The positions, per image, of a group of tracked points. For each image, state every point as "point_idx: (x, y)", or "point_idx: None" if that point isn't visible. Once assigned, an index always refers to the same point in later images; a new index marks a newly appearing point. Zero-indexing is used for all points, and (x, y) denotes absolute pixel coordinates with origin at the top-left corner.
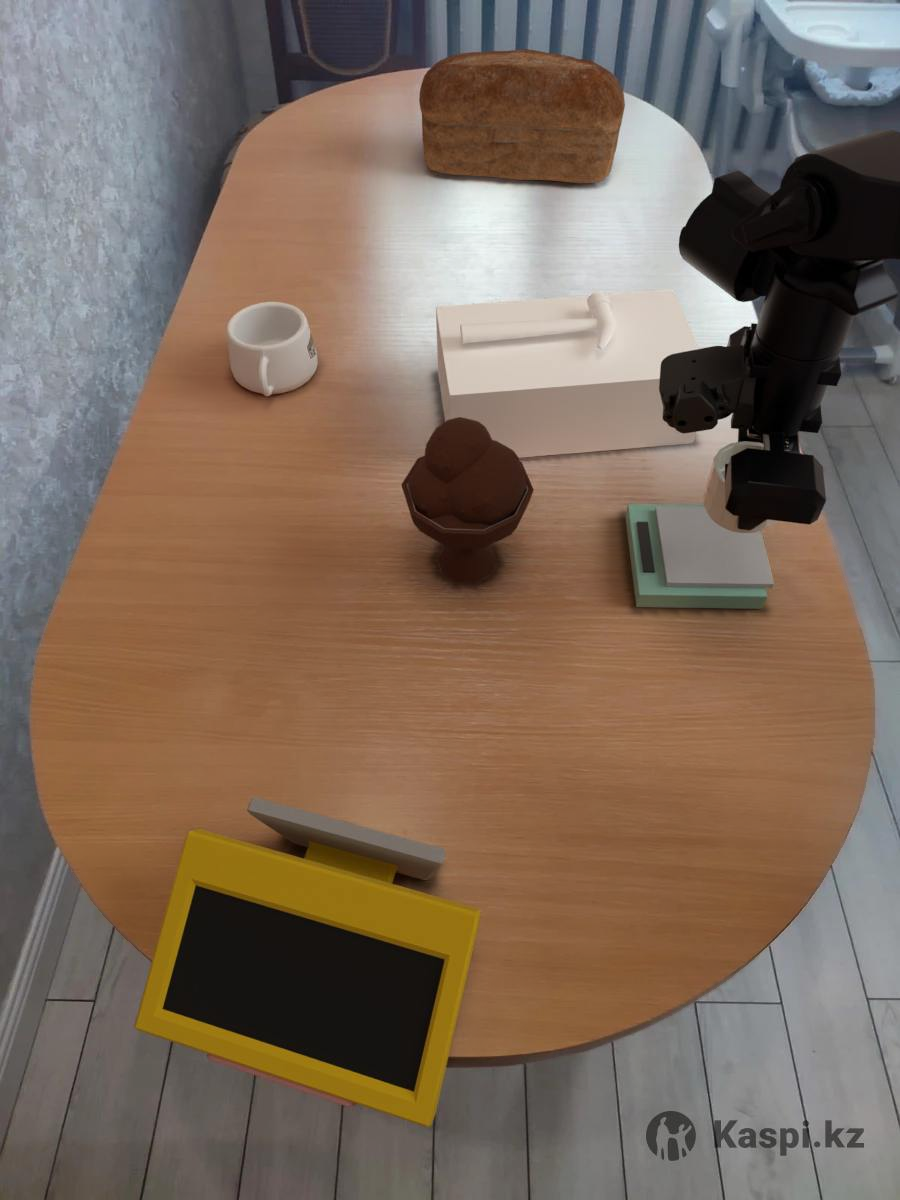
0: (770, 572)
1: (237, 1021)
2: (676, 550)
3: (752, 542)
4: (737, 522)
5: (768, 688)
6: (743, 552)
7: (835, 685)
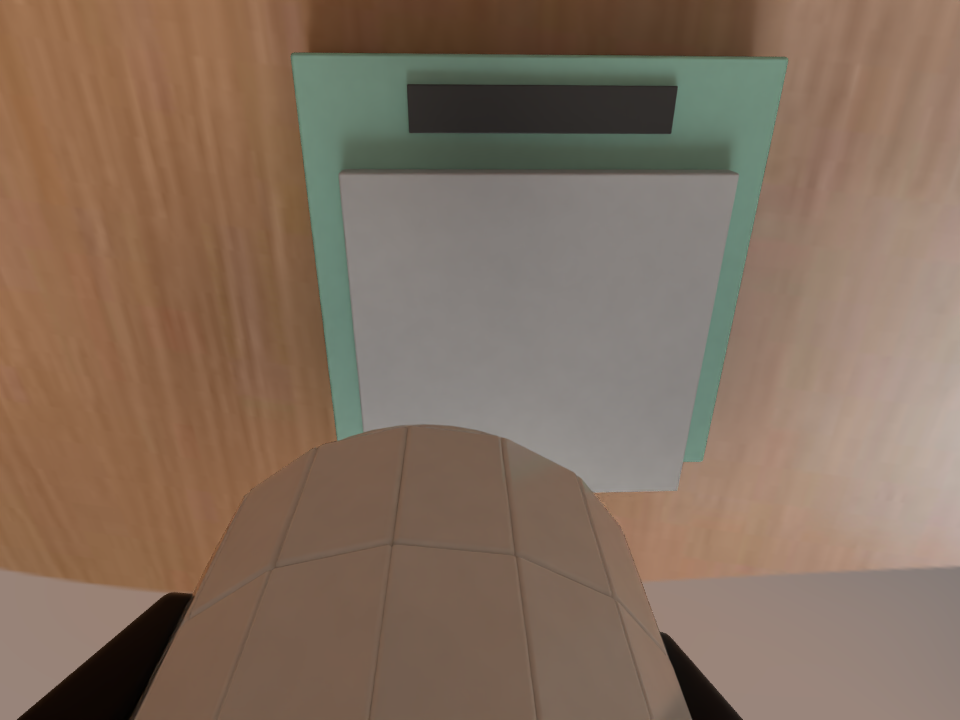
0: None
1: None
2: (501, 228)
3: None
4: (176, 613)
5: (83, 412)
6: None
7: (140, 545)
